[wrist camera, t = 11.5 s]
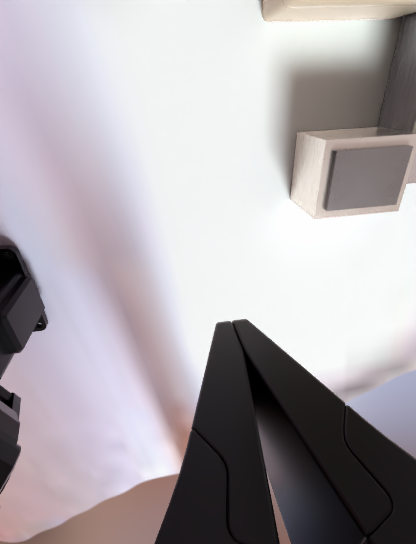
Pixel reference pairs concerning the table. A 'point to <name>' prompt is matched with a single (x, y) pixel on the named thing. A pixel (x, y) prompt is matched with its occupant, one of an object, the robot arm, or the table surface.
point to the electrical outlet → (335, 10)
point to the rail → (364, 150)
